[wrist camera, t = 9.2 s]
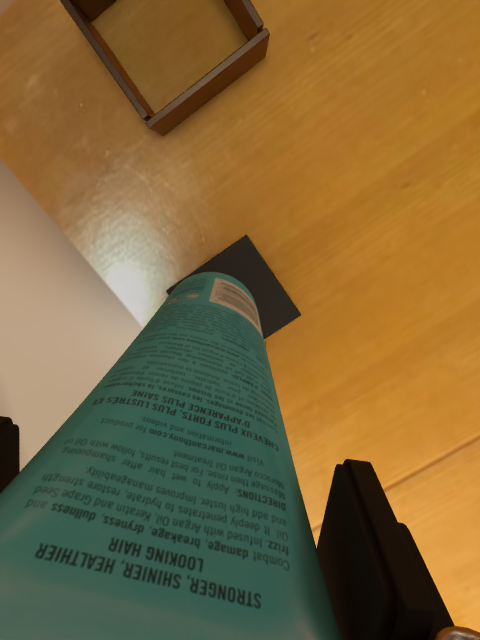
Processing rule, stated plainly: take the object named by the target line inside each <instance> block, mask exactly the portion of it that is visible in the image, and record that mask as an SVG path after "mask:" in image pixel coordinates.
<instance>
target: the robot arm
mask: <svg viewBox="0 0 480 640" xmlns="http://www.w3.org/2000/svg"><path fill="white" fill-rule="evenodd" d="M19 473H20V471H19V427H18V425H15V424H13V422H12V420H11V418H9V417H2V416H0V493H1V492H2V491H3V490H4V489H5V488H6V487H7V486H8V485H9V483H10V482H11V481H12V480H13V479H14V478H15V477H16V476H17V475H18V474H19ZM317 552H318V556H319V560H320V563H321V567H322V571H323V574H324V578H325V581H326V585H327V589H328V592H329V595H330V599H331V602H332V606H333V609H334V613H335V616H336V619H337V623H338V626H339V629H340V632H341V635H342V639H343V640H480V633H479V632H477V631H474V630H472V629H469V628H465V627H458V626H455V625H454V623H453V621H452V619H451V617H450V615H449V613H448V611H447V609H446V606H445V604H444V602H443V600H442V598H441V596H440V594H439V592H438V590H437V588H436V585H435V583H434V581H433V579H432V577H431V575H430V573H429V571H428V569H427V567H426V564H425V562H424V560H423V558H422V556H421V554H420V552H419V550H418V548H417V546H416V543H415V541H414V539H413V537H412V535H411V533H410V531H409V529H408V528H407V526H406V525H405V524H403V523H398V522H397V519H396V517H395V515H394V513H393V511H392V508H391V506H390V504H389V502H388V500H387V497H386V495H385V493H384V491H383V489H382V486H381V484H380V482H379V480H378V478H377V475H376V473H375V471H374V469H373V467H372V464H371V463H370V462H367V461H359V460H351V459H346V460H345V461H344V463H343V465H341V464H337V465H336V467H335V471H334V475H333V480H332V484H331V488H330V493H329V497H328V501H327V506H326V510H325V514H324V519H323V523H322V527H321V532H320V536H319V540H318V545H317Z"/></svg>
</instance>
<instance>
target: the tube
mask: <svg viewBox="0 0 480 640" xmlns="http://www.w3.org/2000/svg"><path fill="white" fill-rule="evenodd" d="M0 640H343V639H342V635H341V632H340V629H339V626H338V623H337V619H336V616H335V613H334V609H333V606H332V602H331V599H330V595H329V592H328V589H327V585H326V581H325V578H324V574H323V571H322V567H321V563H320V560H319V556H318V552H317V549H316V545H315V541H314V538H313V534H312V530H311V527H310V523H309V520H308V516H307V512H306V509H305V505H304V501H303V498H302V494H301V490H300V487H299V483H298V479H297V475H296V471H295V467H294V463H293V459H292V455H291V451H290V447H289V443H288V439H287V435H286V431H285V427H284V423H283V419H282V415H281V411H280V407H279V403H278V398H277V394H276V390H275V386H274V381H273V377H272V373H271V368H270V364H269V360H268V355H267V351H266V346H265V342H264V337H263V333H262V328H261V323H260V319H259V314H258V310H257V307H256V304H255V301H254V298H253V297H252V295H251V293H250V292H249V290H248V289H247V288H246V287H245V286H244V285H243V284H242V283H241V282H239V281H238V280H236V279H235V278H233V277H231V276H229V275H226V274H223V273H218V272H203V273H199V274H195V275H192V276H190V277H188V278H186V279H185V280H183V281H182V282H181V283H180V284H178V285H177V286H176V288H175V289H174V290H173V291H172V293H171V294H170V295H169V296H168V298H167V299H166V300H165V302H164V303H163V304H162V305H161V307H160V308H159V309H158V311H157V312H156V313H155V315H154V316H153V317H152V318H151V320H150V321H149V322H148V324H147V325H146V326H145V327H144V329H143V330H142V331H141V332H140V334H139V335H138V336H137V337H136V339H135V340H134V341H133V342H132V344H131V345H130V346H129V347H128V349H127V350H126V351H125V352H124V353H123V355H122V356H121V357H120V358H119V360H118V361H117V362H116V363H115V365H114V366H113V367H112V368H111V369H110V371H109V372H108V373H107V374H106V375H105V376H104V377H103V379H102V380H101V381H100V382H99V383H98V385H97V386H96V387H95V388H94V389H93V390H92V392H91V393H90V394H89V395H88V396H87V398H86V399H85V400H84V401H83V402H82V403H81V405H80V406H79V407H78V408H77V409H76V410H75V411H74V413H73V414H72V415H71V416H70V417H69V418H68V419H67V420H66V422H65V423H64V424H63V425H62V426H61V427H60V428H59V429H58V431H57V432H56V433H55V434H54V435H53V436H52V437H51V438H50V439H49V441H48V442H47V443H46V444H45V445H44V446H43V447H42V448H41V449H40V451H39V452H38V453H37V454H36V455H35V456H34V457H33V458H32V459H31V460H30V462H29V463H28V464H27V465H26V466H25V467H24V468H23V469H22V470H21V472H20V473H19V474H18V475H17V476H16V477H15V478H14V479H13V480H12V481H11V482H10V483H9V485H8V486H7V487H6V488H5V489H4V490H3V491H2V492H1V493H0Z"/></svg>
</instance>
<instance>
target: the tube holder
mask: <svg viewBox="0 0 480 640" xmlns="http://www.w3.org/2000/svg"><path fill="white" fill-rule="evenodd" d="M60 1H61V3H62V4H63V6H64V7H65V9H66V10H67V11H68V13H69V14H70V16H71V17H72V19H73V20H74V21H75V23H76V24H77V26H78V27H79V29H80V30H81V31H82V33H83V34H84V36H85V37H86V39H87V40H88V41H89V43H90V44H91V46H92V47H93V49H94V50H95V51H96V53H97V54H98V56H99V57H100V59H101V60H102V61H103V63H104V64H105V66H106V67H107V69H108V70H109V72H110V73H111V74H112V76H113V77H114V79H115V80H116V82H117V83H118V84H119V86H120V87H121V89H122V90H123V92H124V93H125V94H126V96H127V97H128V99H129V100H130V102H131V103H132V104H133V106H134V107H135V109H136V110H137V112H138V113H139V114H140V116H141V117H142V119H144V120H145V121H147V122H146V124H147V126H148V127H149V128H150V129H152V130H153V131H155V132H157V133H159V134H160V135H162V136H164V135H166V134H167V133H168V132H169V131H171V130H172V129H173V128H175V127H176V126H177V125H178V124H180V123H181V122H182V121H184V120H185V119H186V118H187V117H189V116H190V115H191V114H193V113H194V112H195V111H196V110H198V109H199V108H200V107H202V106H203V105H204V104H206V103H207V102H208V101H209V100H211V99H212V98H213V97H215V96H216V95H217V94H218V93H220V92H221V91H222V90H224V89H225V88H226V87H227V86H229V85H230V84H231V83H233V82H234V81H235V80H236V79H238V78H239V77H240V76H242V75H243V74H244V73H246V72H247V71H248V70H249V69H251V68H252V67H253V66H255V65H256V64H257V63H258V62H260V61H261V60H262V59H264V58H265V57H266V51H267V46H268V41H269V35H270V33H269V32H268V30H267V28H265V29H263V24H264V23H263V21H262V20H261V18H260V16H259V15H258V13H257V11H256V10H255V8H254V6H253V5H252V3H251V1H250V0H224V1H225V3H226V5H227V6H228V8H229V10H230V11H231V13H232V14H233V16H234V18H235V19H236V21H237V23H238V24H239V26H240V28H241V29H242V31H243V33H244V34H245V36H246V37H247V39H248V42H247V43H246V44H244V45H243V46H242V47H240V48H239V49H238V50H237V51H235V52H234V53H233V54H232V55H230V56H229V57H228V58H226V59H225V60H224V61H223V62H221V63H220V64H219V65H218V66H216V67H215V68H214V69H213V70H211V71H210V72H209V73H207V74H206V75H205V76H204V77H202V78H201V79H200V80H199V81H197V82H196V83H195V84H194V85H192V86H191V87H190V88H188V89H187V90H186V91H185V92H183V93H182V94H181V95H180V96H178V97H177V98H176V99H174V100H173V101H172V102H171V103H169V104H168V105H167V106H166V107H164V108H163V109H162V110H161V111H159V112H158V113H157V114H155V113H154V112H153V110H152V109H151V108H150V106H149V105H148V103H147V102H146V100H145V99H144V97H143V96H142V95H141V93H140V92H139V90H138V89H137V87H136V86H135V84H134V83H133V81H132V80H131V79H130V77H129V76H128V74H127V73H126V71H125V70H124V68H123V67H122V66H121V64H120V63H119V61H118V60H117V58H116V57H115V55H114V54H113V52H112V51H111V50H110V48H109V47H108V45H107V44H106V42H105V41H104V39H103V38H102V36H101V35H100V34H99V32H98V31H97V29H96V28H95V26H94V25H93V24H92V23H91V21H93V20H94V19H95V18H96V17H97V16H98V15H100V14H101V13H102V12H103V11H104V10H105V9H107V8H108V7H109V6H110V5H111V4H112V3H114V2H115V1H116V0H60Z"/></svg>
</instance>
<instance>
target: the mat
mask: <svg viewBox="0 0 480 640" xmlns="http://www.w3.org/2000/svg"><path fill="white" fill-rule="evenodd" d="M203 272H218V273H223V274H226V275H229V276H231V277H233V278H235V279H236V280H238V281H239V282H241V283H242V284H243V285H244V286H245V287H246V288H247V289H248V290H249V292H250V293H251V295H252V297H253V298H254V301H255V304H256V307H257V310H258V314H259V319H260V323H261V328H262V333H263V337H264V339H265V338H267V337H268V336H270V335H271V334H273V333H274V332H276V331H278V330H279V329H281V328H282V327H284V326H285V325H287V324H288V323H290V322H291V321H293V320H294V319H296V318H298V317H299V316H301V314H300V312H299V311H298V309H297V308H296V306H295V305H294V303H293V302H292V301H291V299H290V298H289V296H288V295H287V293H286V292H285V290H284V289H283V287H282V286H281V284H280V283H279V282H278V280H277V279H276V277H275V276H274V274H273V273H272V271H271V270H270V268H269V267H268V265H267V264H266V263H265V261H264V260H263V258H262V257H261V255H260V254H259V252H258V251H257V249H256V248H255V246H254V245H253V244H252V242H251V241H250V239H249V238H248V236H247V235H245V236H244V237H242V238H241V239H240V240H238V241H237V242H235V243H234V244H232V245H231V246H230V247H228V248H227V249H225V250H224V251H222V252H221V253H220V254H218V255H217V256H215V257H214V258H212V259H211V260H210V261H208V262H207V263H205V264H204V265H203V266H201V267H200V268H198V269H197V270H195V271H194V272H193V273H191V274H190V275H188V276H187V277H185V278H184V279H183V280H185V279H186V278H188V277H190V276H192V275H195V274H199V273H203ZM183 280H181V281H180V282H178V283H177V284H175V285H174V286H173V287H171V288H170V289H168V290H167V291H166V292H167V294H168V295H170V294H171V293H172V291H173V290H174V289H175V288H176V286H177V285H178V284H180V283H181V282H182V281H183Z"/></svg>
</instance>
